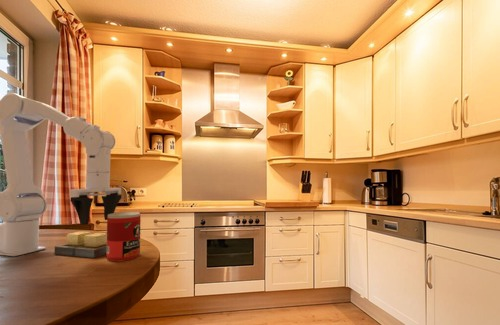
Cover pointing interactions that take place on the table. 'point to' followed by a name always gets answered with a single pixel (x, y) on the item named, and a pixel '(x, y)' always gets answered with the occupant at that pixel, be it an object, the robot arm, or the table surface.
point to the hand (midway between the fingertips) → (96, 222)
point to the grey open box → (79, 246)
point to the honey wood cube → (95, 240)
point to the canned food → (123, 236)
